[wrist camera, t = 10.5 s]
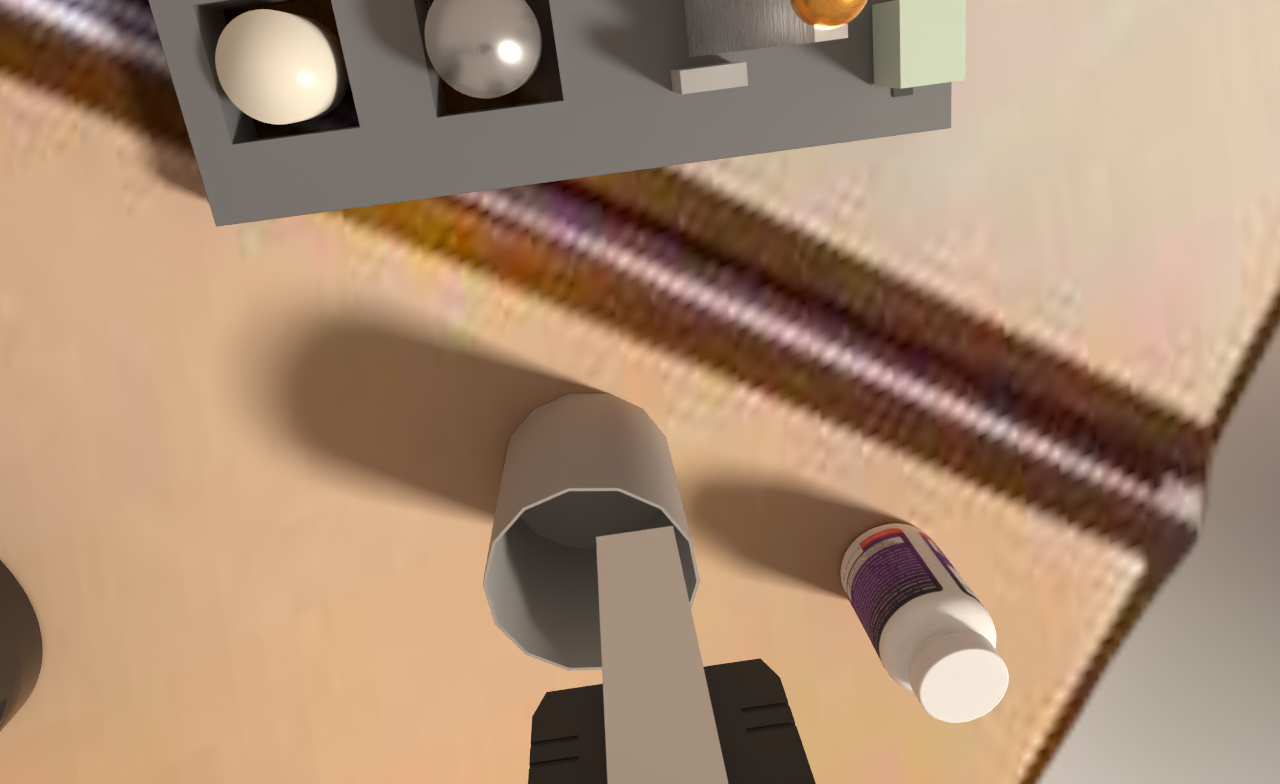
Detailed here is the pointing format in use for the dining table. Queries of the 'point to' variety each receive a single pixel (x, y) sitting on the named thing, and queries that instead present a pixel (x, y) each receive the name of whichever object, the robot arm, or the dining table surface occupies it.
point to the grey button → (483, 45)
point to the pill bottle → (924, 622)
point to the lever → (765, 23)
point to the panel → (527, 107)
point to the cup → (575, 520)
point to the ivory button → (281, 66)
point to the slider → (918, 42)
